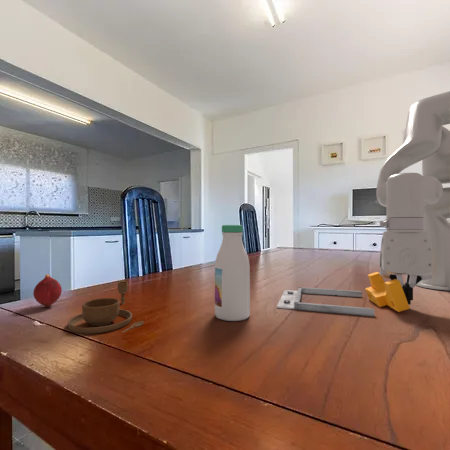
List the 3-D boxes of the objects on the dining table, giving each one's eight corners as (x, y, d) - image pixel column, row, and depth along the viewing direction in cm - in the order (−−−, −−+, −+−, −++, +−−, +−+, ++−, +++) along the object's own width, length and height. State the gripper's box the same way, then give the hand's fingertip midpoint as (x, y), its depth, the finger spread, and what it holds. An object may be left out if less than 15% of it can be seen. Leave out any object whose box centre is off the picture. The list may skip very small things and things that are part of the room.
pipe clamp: (369, 299, 74) (360, 276, 75) (385, 294, 74) (377, 271, 74) (390, 314, 62) (380, 286, 63) (410, 308, 62) (399, 280, 62)
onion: (66, 305, 70) (66, 273, 70) (43, 311, 65) (43, 277, 65) (51, 302, 72) (51, 271, 72) (28, 308, 67) (28, 275, 67)
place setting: (44, 328, 56) (44, 298, 56) (121, 303, 74) (121, 280, 74) (107, 344, 48) (107, 310, 48) (176, 312, 66) (176, 287, 66)
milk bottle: (253, 312, 64) (253, 224, 64) (244, 323, 56) (244, 224, 56) (221, 309, 66) (221, 224, 66) (209, 319, 59) (209, 224, 59)
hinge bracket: (284, 291, 84) (284, 286, 84) (361, 296, 78) (361, 291, 78) (276, 307, 67) (276, 301, 67) (374, 316, 61) (374, 309, 61)
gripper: (373, 225, 65) (373, 304, 65) (449, 225, 61) (449, 310, 61) (367, 225, 73) (367, 296, 72) (434, 226, 68) (435, 301, 68)
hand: (404, 302), depth 67 cm, fingers closed
